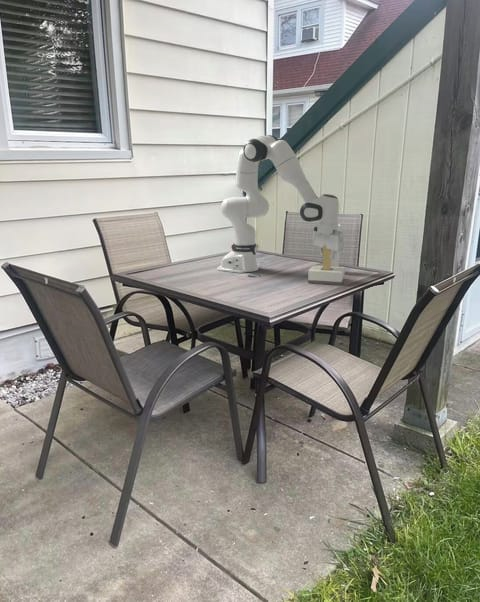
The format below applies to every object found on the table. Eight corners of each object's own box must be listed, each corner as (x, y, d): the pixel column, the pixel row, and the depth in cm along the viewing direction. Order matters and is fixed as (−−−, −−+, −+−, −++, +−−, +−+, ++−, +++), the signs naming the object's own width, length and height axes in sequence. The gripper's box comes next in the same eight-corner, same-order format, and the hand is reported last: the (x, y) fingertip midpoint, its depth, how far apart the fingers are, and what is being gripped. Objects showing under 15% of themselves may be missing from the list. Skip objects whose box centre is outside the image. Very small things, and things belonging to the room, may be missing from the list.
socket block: (308, 282, 232) (308, 270, 231) (312, 276, 244) (312, 265, 243) (341, 285, 228) (342, 272, 226) (344, 278, 240) (344, 267, 238)
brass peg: (322, 269, 233) (323, 245, 229) (323, 268, 236) (324, 243, 233) (330, 270, 232) (331, 245, 228) (331, 268, 235) (332, 244, 232)
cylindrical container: (338, 273, 250) (340, 225, 243) (324, 273, 252) (326, 225, 244) (338, 270, 257) (340, 224, 250) (324, 270, 258) (326, 223, 251)
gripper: (348, 231, 221) (346, 260, 225) (321, 226, 239) (320, 253, 242) (337, 232, 218) (335, 262, 222) (310, 227, 236) (309, 254, 240)
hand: (327, 257), depth 233 cm, fingers closed on brass peg, 6 cm apart
